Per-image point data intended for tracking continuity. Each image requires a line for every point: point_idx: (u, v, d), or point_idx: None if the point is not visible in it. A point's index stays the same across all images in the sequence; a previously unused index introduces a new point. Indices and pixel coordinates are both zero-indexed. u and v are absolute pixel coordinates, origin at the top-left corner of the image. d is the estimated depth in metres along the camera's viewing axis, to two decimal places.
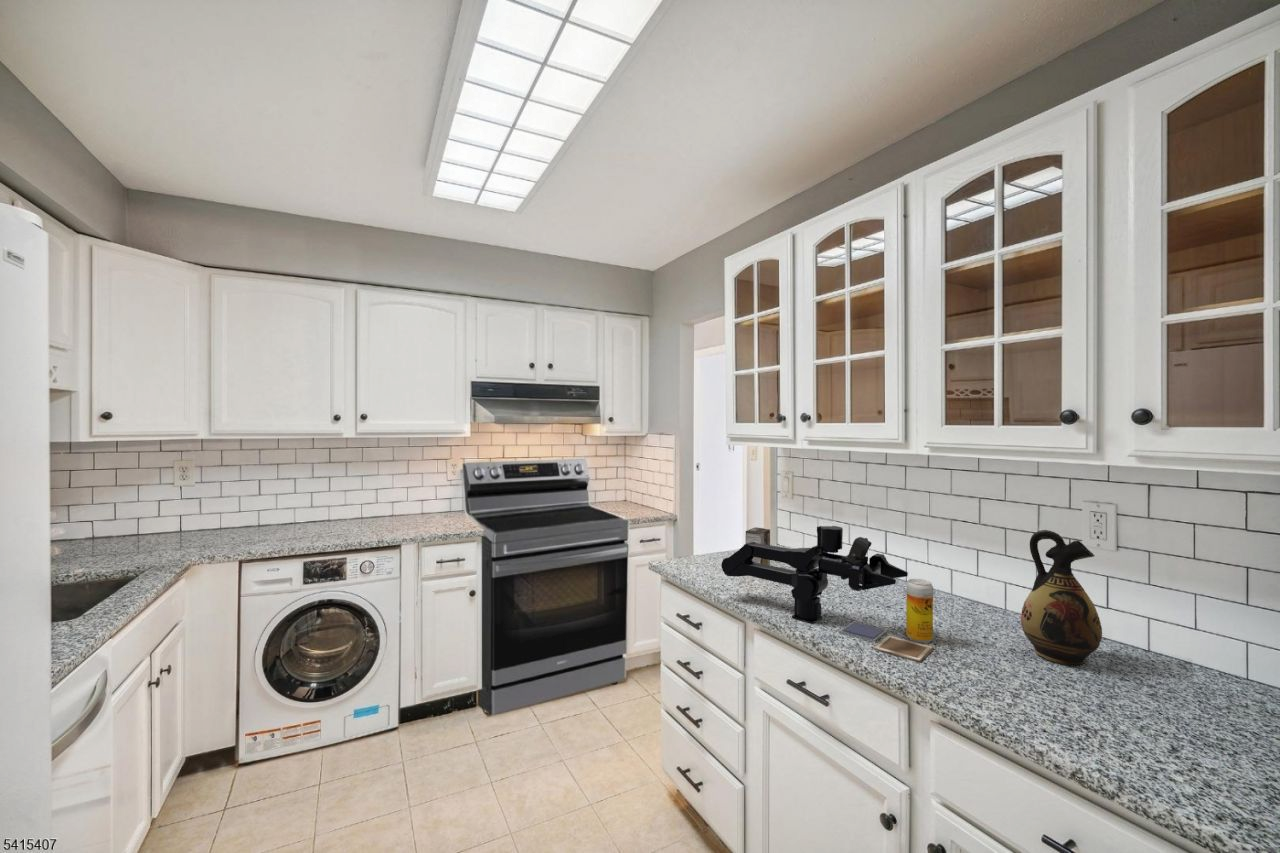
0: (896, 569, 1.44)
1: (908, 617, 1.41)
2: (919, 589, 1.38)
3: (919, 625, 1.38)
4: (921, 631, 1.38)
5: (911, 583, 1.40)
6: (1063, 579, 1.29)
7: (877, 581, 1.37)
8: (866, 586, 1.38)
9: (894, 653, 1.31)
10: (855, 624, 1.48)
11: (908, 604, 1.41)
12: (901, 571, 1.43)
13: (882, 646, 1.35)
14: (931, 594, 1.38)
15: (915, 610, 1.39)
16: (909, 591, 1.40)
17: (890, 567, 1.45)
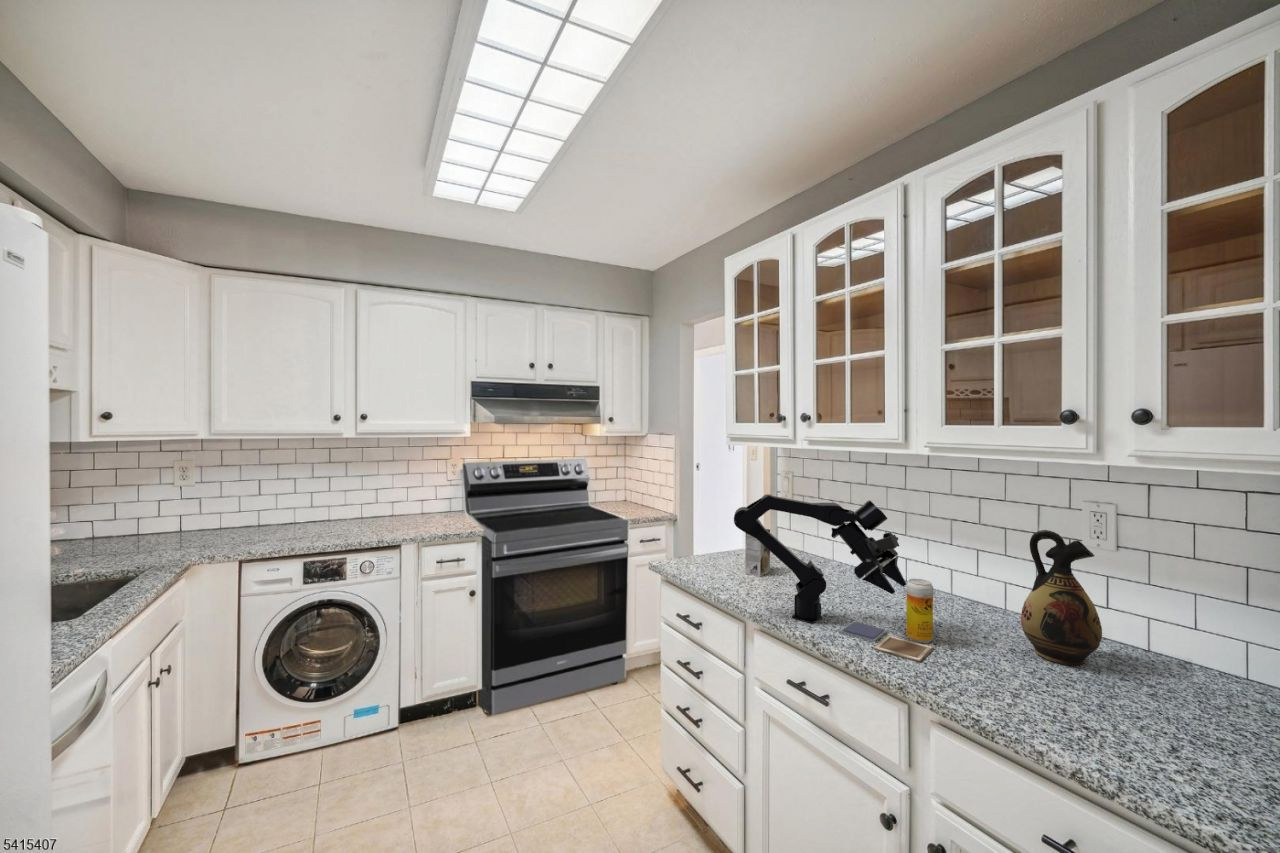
0: (899, 575, 1.49)
1: (908, 617, 1.41)
2: (919, 589, 1.38)
3: (919, 625, 1.38)
4: (921, 631, 1.38)
5: (911, 583, 1.40)
6: (1063, 579, 1.29)
7: (879, 582, 1.42)
8: (867, 578, 1.43)
9: (894, 653, 1.31)
10: (855, 624, 1.48)
11: (908, 604, 1.41)
12: (902, 580, 1.48)
13: (882, 646, 1.35)
14: (931, 594, 1.38)
15: (915, 610, 1.39)
16: (909, 591, 1.40)
17: (896, 570, 1.50)
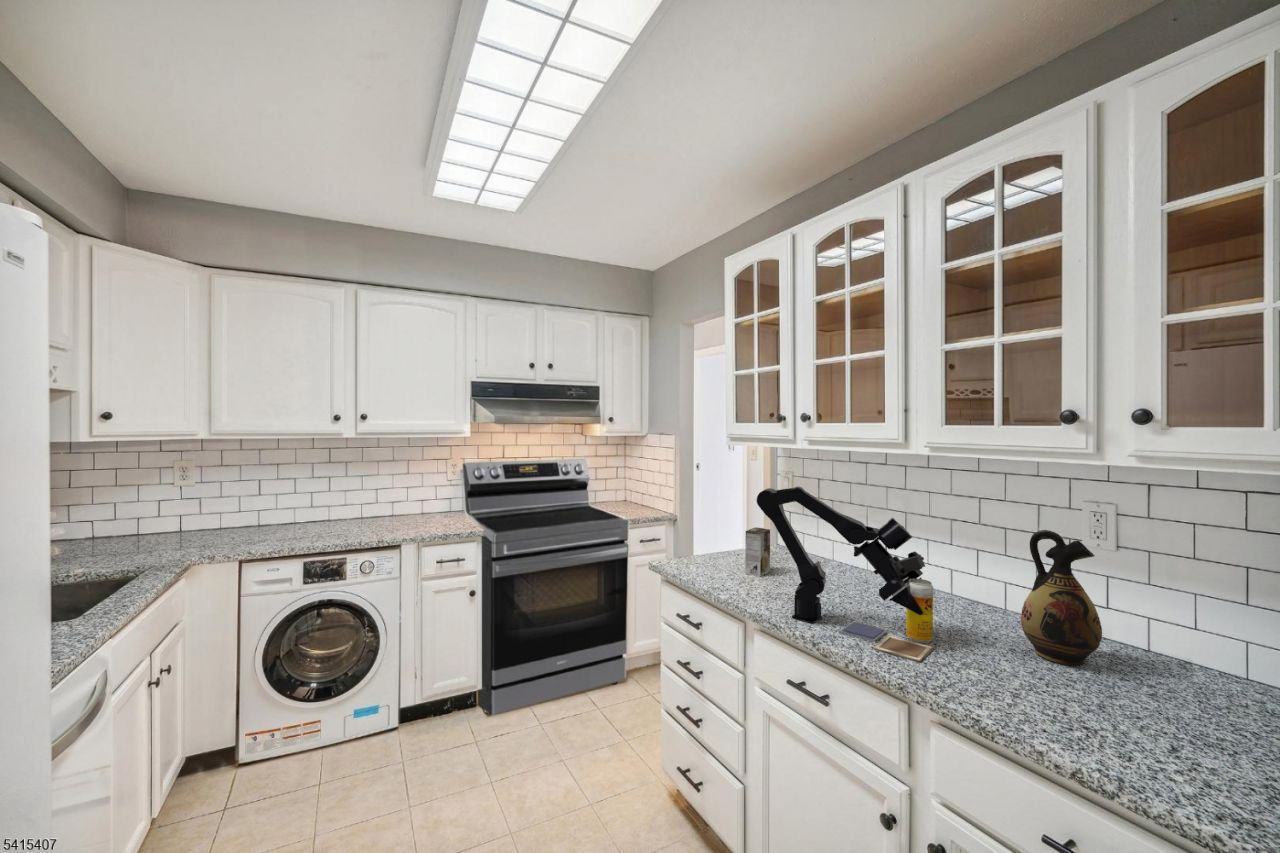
0: None
1: (908, 617, 1.41)
2: (919, 589, 1.38)
3: (919, 625, 1.38)
4: (921, 631, 1.38)
5: (911, 583, 1.40)
6: (1063, 579, 1.29)
7: (907, 603, 1.39)
8: (894, 599, 1.40)
9: (894, 653, 1.31)
10: (855, 624, 1.48)
11: None
12: None
13: (882, 646, 1.35)
14: (931, 594, 1.38)
15: None
16: None
17: None
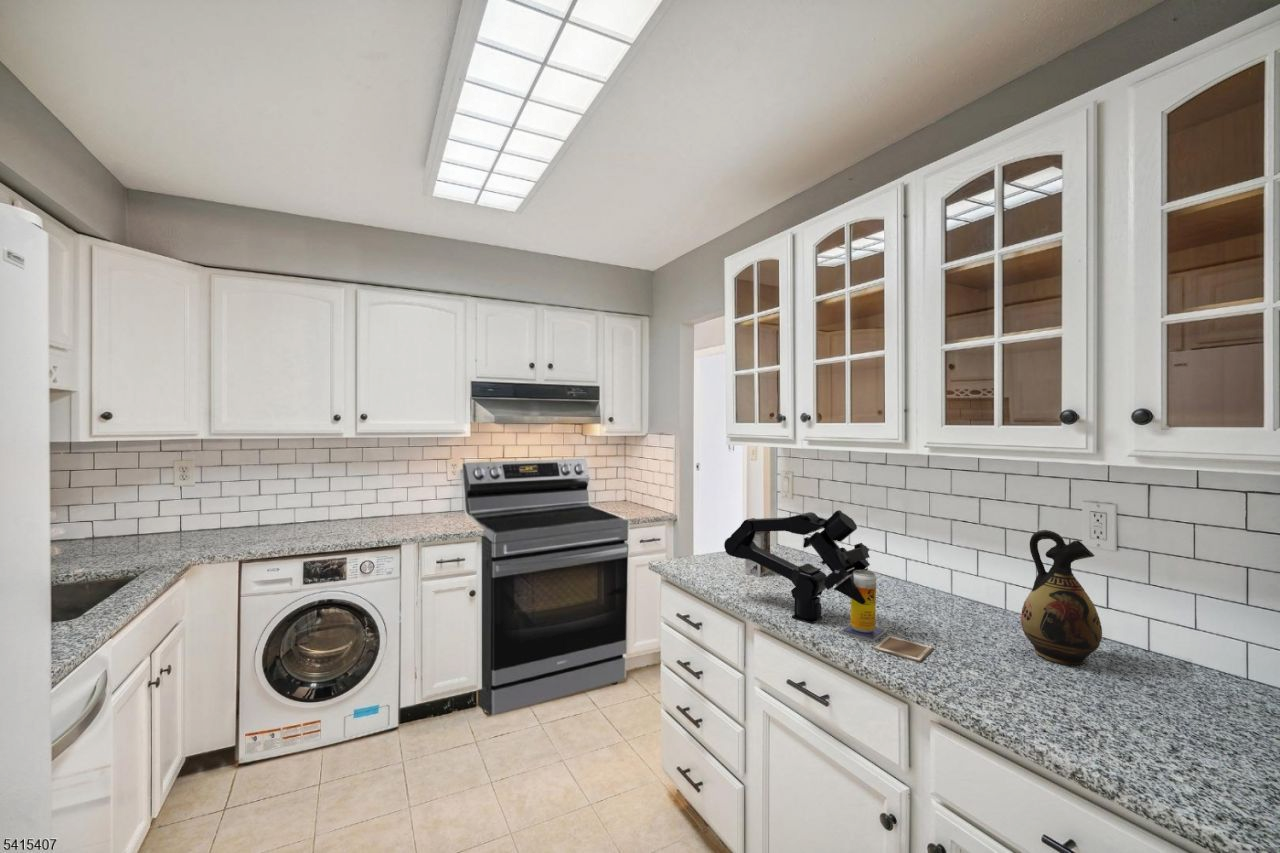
0: None
1: (852, 607, 1.44)
2: (862, 579, 1.42)
3: (861, 615, 1.42)
4: (863, 621, 1.42)
5: (855, 574, 1.44)
6: (1063, 579, 1.29)
7: (850, 592, 1.43)
8: (838, 588, 1.44)
9: (894, 653, 1.31)
10: None
11: None
12: None
13: (882, 646, 1.35)
14: (874, 585, 1.42)
15: None
16: None
17: None
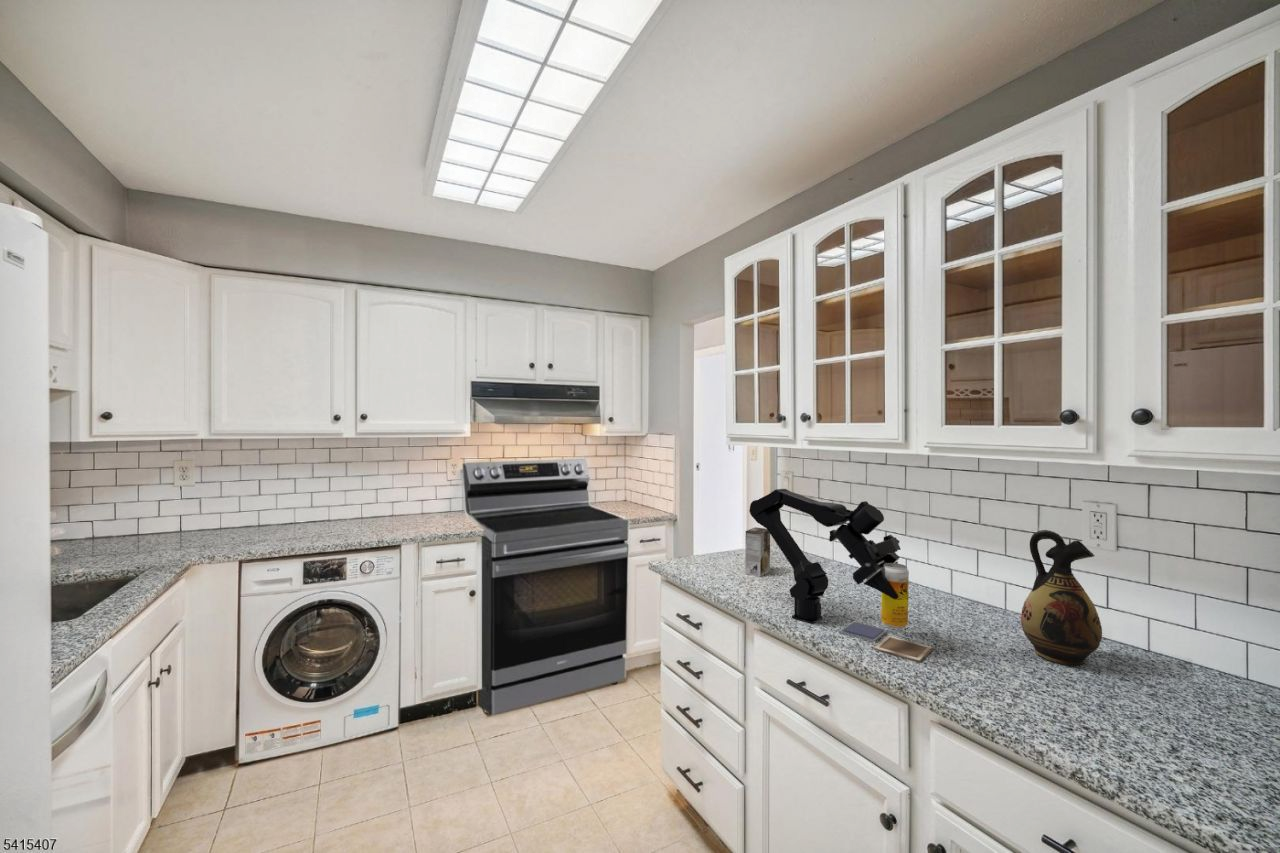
0: None
1: (883, 602, 1.36)
2: (894, 573, 1.34)
3: (894, 610, 1.34)
4: (896, 617, 1.34)
5: (886, 567, 1.36)
6: (1063, 579, 1.29)
7: (882, 587, 1.35)
8: (869, 583, 1.36)
9: (894, 653, 1.31)
10: (855, 624, 1.48)
11: None
12: None
13: (882, 646, 1.35)
14: (906, 578, 1.34)
15: None
16: None
17: None
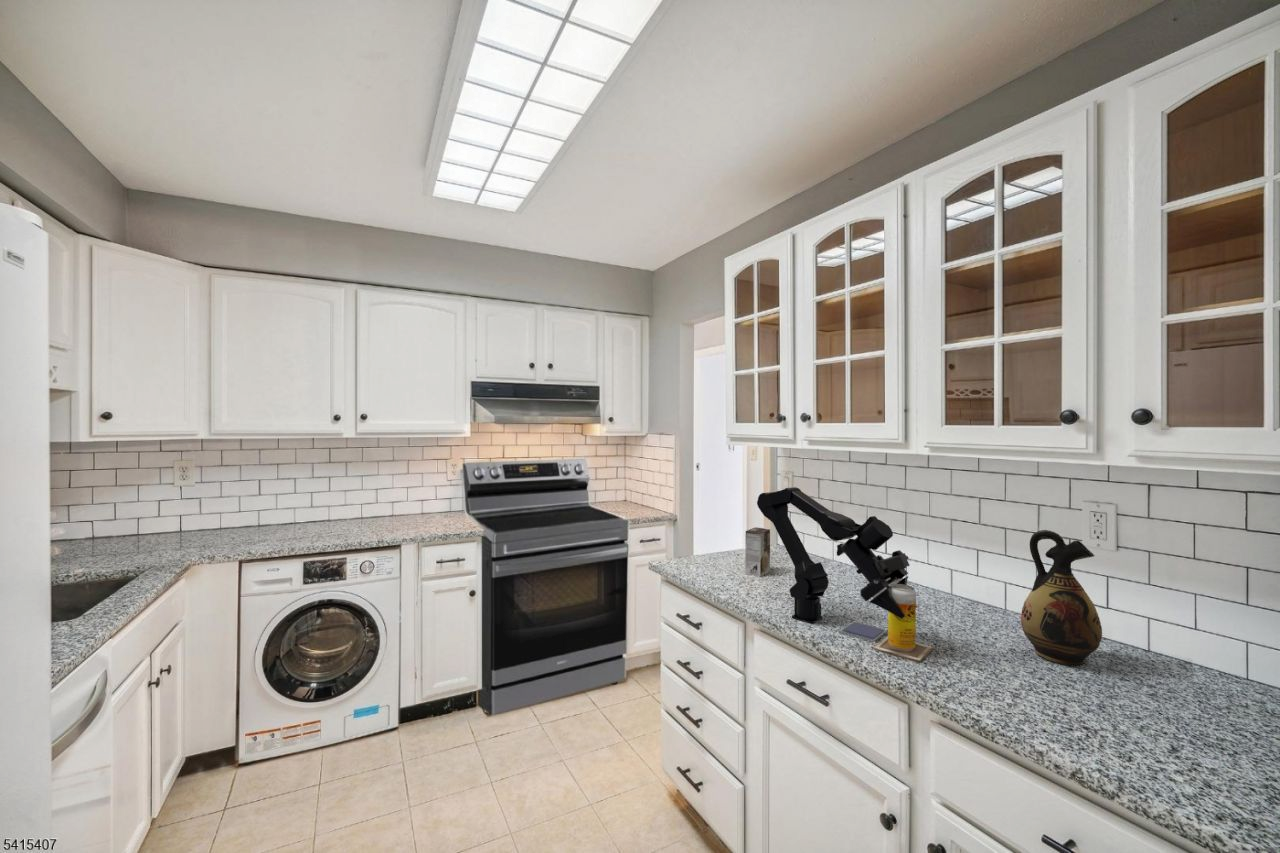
0: None
1: (890, 624, 1.34)
2: (901, 595, 1.32)
3: (901, 633, 1.32)
4: (903, 639, 1.32)
5: (893, 589, 1.34)
6: (1063, 579, 1.29)
7: (888, 605, 1.32)
8: (875, 601, 1.33)
9: (894, 653, 1.31)
10: (855, 624, 1.48)
11: None
12: None
13: (882, 646, 1.35)
14: (914, 600, 1.32)
15: (897, 617, 1.33)
16: None
17: None
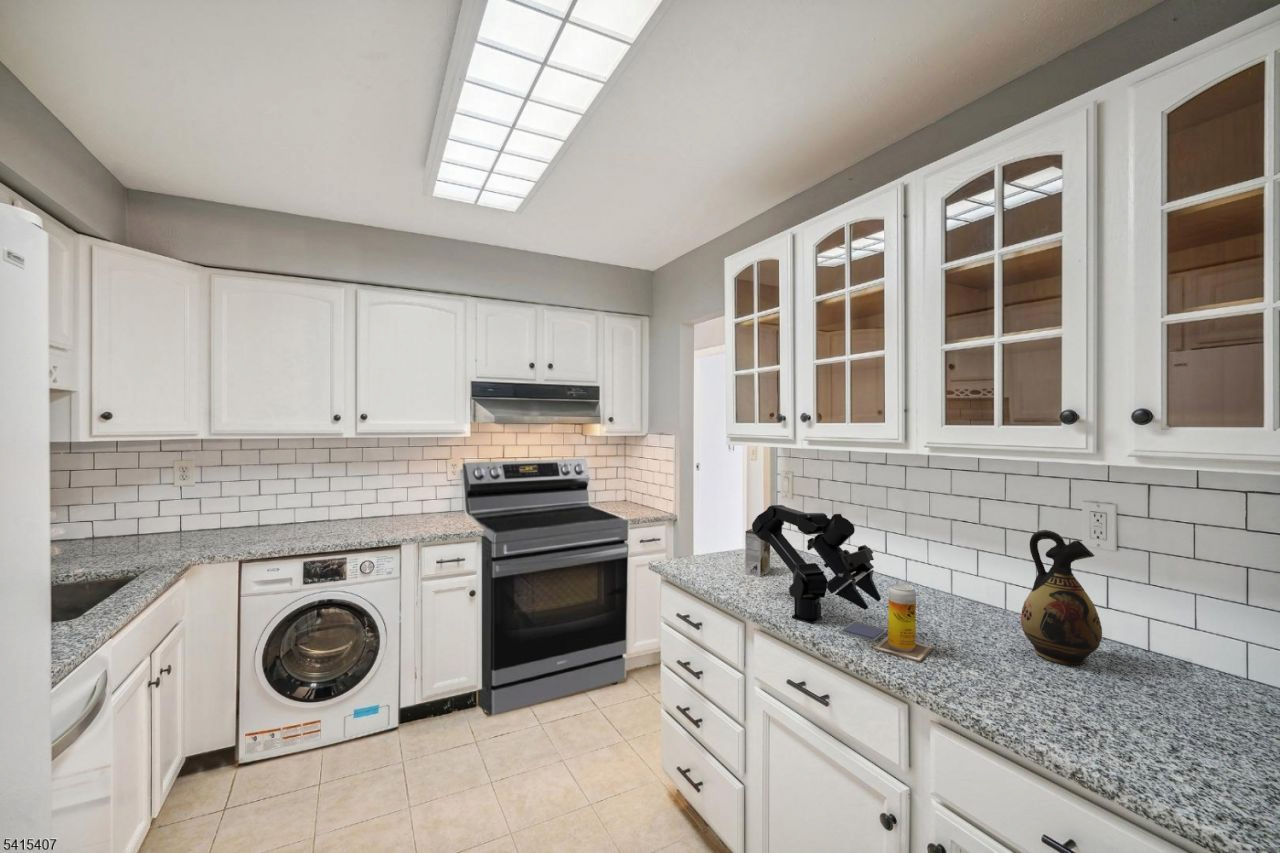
0: (874, 589, 1.44)
1: (890, 624, 1.34)
2: (901, 595, 1.32)
3: (901, 633, 1.32)
4: (903, 639, 1.32)
5: (893, 589, 1.34)
6: (1063, 579, 1.29)
7: (852, 597, 1.38)
8: (840, 593, 1.39)
9: (894, 653, 1.31)
10: (855, 624, 1.48)
11: (890, 611, 1.34)
12: (877, 594, 1.43)
13: (882, 646, 1.35)
14: (914, 600, 1.32)
15: (897, 617, 1.33)
16: (892, 597, 1.34)
17: (870, 584, 1.45)
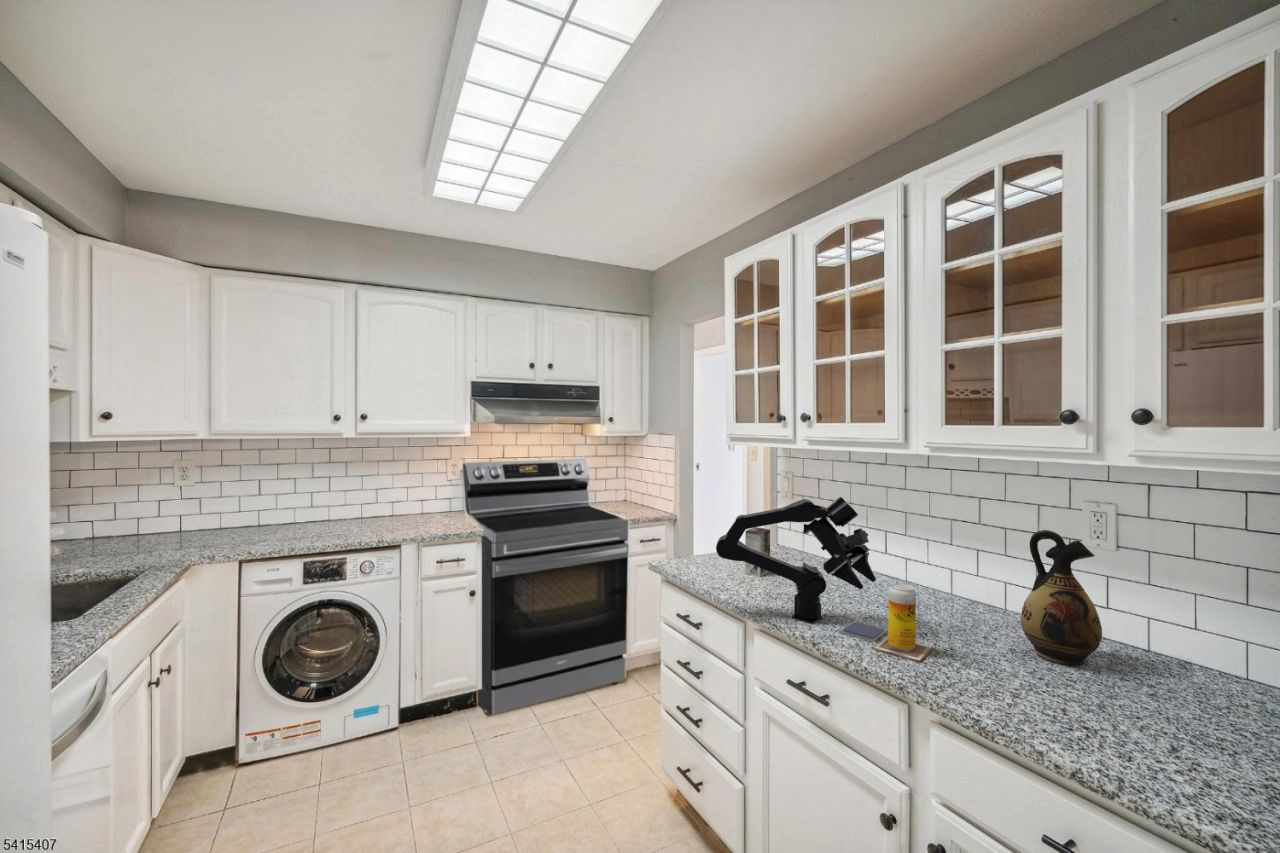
0: (869, 571, 1.50)
1: (890, 624, 1.34)
2: (901, 595, 1.32)
3: (901, 633, 1.32)
4: (903, 639, 1.32)
5: (893, 589, 1.34)
6: (1063, 579, 1.29)
7: (848, 577, 1.44)
8: (836, 574, 1.45)
9: (894, 653, 1.31)
10: (855, 624, 1.48)
11: (890, 611, 1.34)
12: (872, 575, 1.50)
13: (882, 646, 1.35)
14: (914, 600, 1.32)
15: (897, 617, 1.33)
16: (892, 597, 1.34)
17: (866, 566, 1.51)
